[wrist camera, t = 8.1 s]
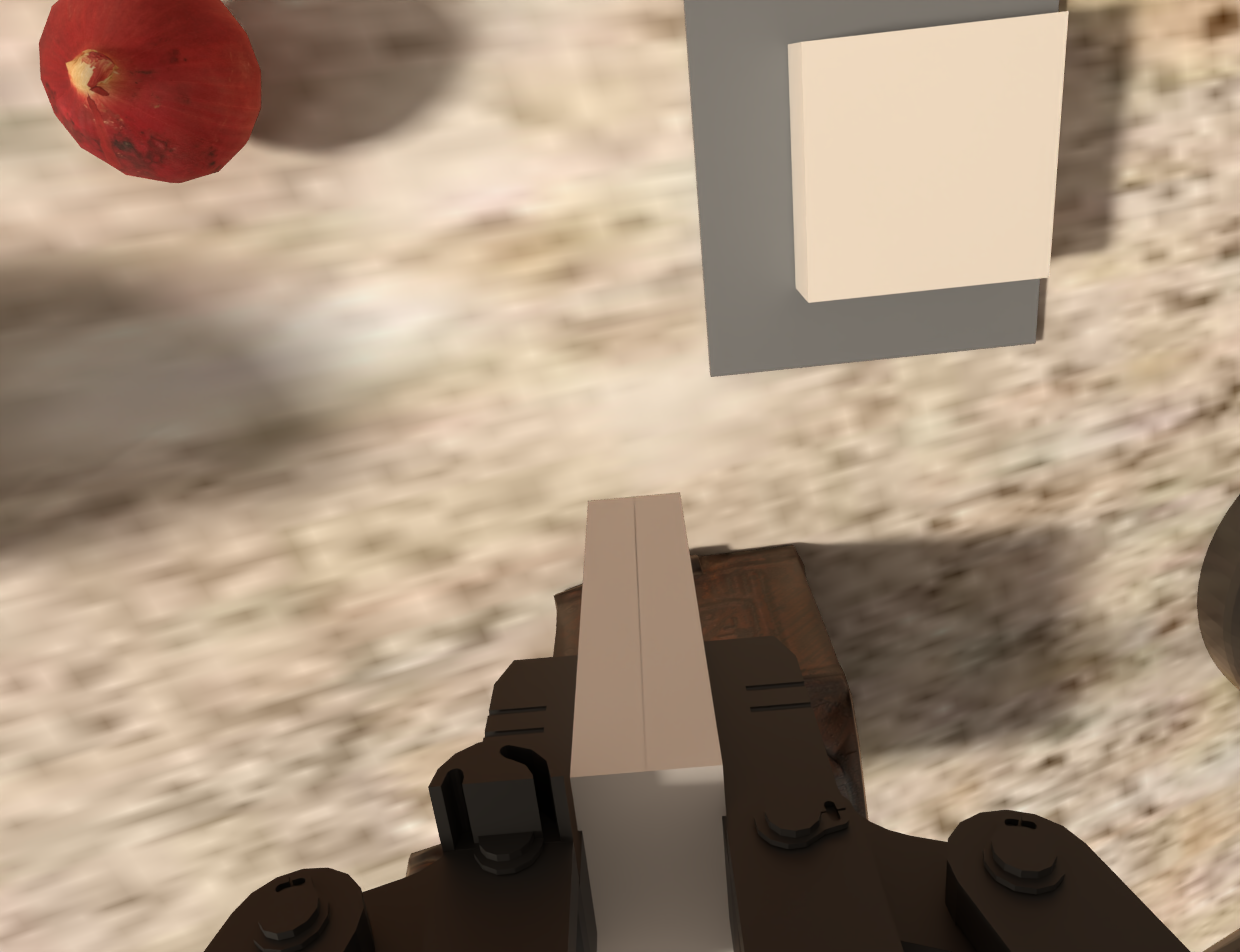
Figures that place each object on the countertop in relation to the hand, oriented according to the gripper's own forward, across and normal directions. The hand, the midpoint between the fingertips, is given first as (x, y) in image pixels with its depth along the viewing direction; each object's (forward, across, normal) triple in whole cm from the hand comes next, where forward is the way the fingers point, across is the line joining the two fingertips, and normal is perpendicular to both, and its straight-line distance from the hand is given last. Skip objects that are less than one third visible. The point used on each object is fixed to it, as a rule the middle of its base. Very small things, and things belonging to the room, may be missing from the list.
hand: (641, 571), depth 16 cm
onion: (+20, -13, +9) cm, 26 cm away
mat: (+20, +9, +4) cm, 23 cm away
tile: (+19, +6, +4) cm, 20 cm away
